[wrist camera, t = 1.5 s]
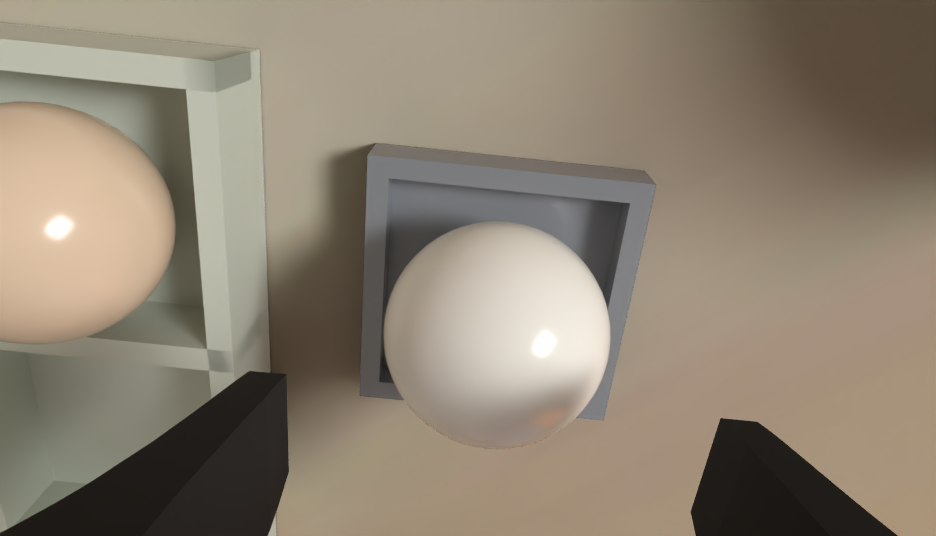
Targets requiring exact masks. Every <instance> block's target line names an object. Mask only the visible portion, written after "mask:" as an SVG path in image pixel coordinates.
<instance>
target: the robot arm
mask: <svg viewBox="0 0 936 536" xmlns="http://www.w3.org/2000/svg"><path fill="white" fill-rule="evenodd" d="M288 472H289V466H288V426H287V386H286V374H276V373H266V372H256V371H249V372H247V373H246V374H244V375H243V376H241V377H240V378H239V379H237V380H236V381H234V382H233V383H232V384H230V385H229V386H228V387H226V388H225V389H224V390H222V391H221V392H220V393H218V394H217V395H216V396H214V397H213V398H212V399H210V400H209V401H208V402H206V403H205V404H204V405H202V406H201V407H200V408H198V409H197V410H195V411H194V412H193V413H191V414H190V415H189V416H187V417H186V418H185V419H183V420H182V421H180V422H179V423H178V424H176V425H175V426H173V427H172V428H171V429H169V430H168V431H166V432H165V433H164V434H162V435H161V436H159V437H158V438H157V439H155V440H154V441H152V442H151V443H149V444H148V445H146V446H145V447H143V448H142V449H140V450H139V451H137V452H136V453H134V454H133V455H131V456H130V457H128V458H126V459H125V460H123V461H122V462H120V463H119V464H117V465H116V466H114V467H113V468H111V469H110V470H108V471H107V472H105V473H104V474H102V475H100V476H99V477H97V478H96V479H94V480H93V481H91V482H90V483H88V484H86V485H85V486H83V487H81V488H80V489H78V490H76V491H75V492H73V493H71V494H70V495H68V496H66V497H64V498H63V499H61V500H59V501H58V502H56V503H54V504H52V505H50V506H49V507H47V508H45V509H43V510H41V511H40V512H38V513H36V514H34V515H32V516H30V517H29V518H27V519H25V520H23V521H21V522H20V523H18V524H16V525H14V526H12V527H10V528H8V529H6V530H4V531H3V532H1V533H0V536H268V534H269V531H270V529H271V526H272V523H273V520H274V517H275V514H276V511H277V508H278V505H279V502H280V498H281V495H282V492H283V489H284V485H285V482H286V479H287V476H288ZM691 515H692V520H693V524H694V529H695V534H696V536H897V535H896V534H895V533H894V532H892V531H891V530H890V529H888V528H887V527H886V526H885V525H883V524H882V523H881V522H880V521H878V520H877V519H876V518H875V517H873V516H872V515H871V514H870V513H868V512H867V511H866V510H865V509H864V508H862V507H861V506H860V505H859V504H857V503H856V502H855V501H854V500H853V499H851V498H850V497H849V496H848V495H846V494H845V493H844V492H843V491H842V490H840V489H839V488H838V487H837V486H836V485H834V484H833V483H832V482H831V481H830V480H828V479H827V478H826V477H825V476H824V475H823V474H821V473H820V472H819V471H818V470H817V469H815V468H814V467H813V466H812V465H811V464H809V463H808V462H807V461H806V460H805V459H803V458H802V457H801V456H800V455H799V454H797V453H796V452H795V451H794V450H793V449H791V448H790V447H789V446H788V445H787V444H785V443H784V442H783V441H782V440H780V439H779V438H778V437H777V436H775V435H774V434H773V433H772V432H770V431H769V430H768V429H766V428H765V427H764V426H762V425H761V424H759V423H758V422H753V421H743V420H733V419H723V418H721V419H720V422H719V425H718V428H717V431H716V434H715V437H714V441H713V444H712V447H711V450H710V453H709V456H708V459H707V462H706V466H705V469H704V472H703V475H702V478H701V481H700V484H699V488H698V491H697V494H696V497H695V500H694V503H693V506H692V510H691Z"/></svg>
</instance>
